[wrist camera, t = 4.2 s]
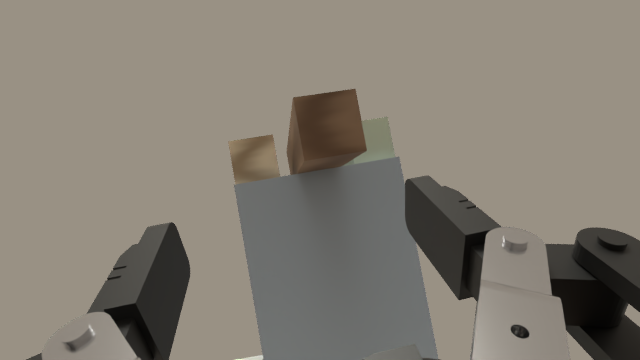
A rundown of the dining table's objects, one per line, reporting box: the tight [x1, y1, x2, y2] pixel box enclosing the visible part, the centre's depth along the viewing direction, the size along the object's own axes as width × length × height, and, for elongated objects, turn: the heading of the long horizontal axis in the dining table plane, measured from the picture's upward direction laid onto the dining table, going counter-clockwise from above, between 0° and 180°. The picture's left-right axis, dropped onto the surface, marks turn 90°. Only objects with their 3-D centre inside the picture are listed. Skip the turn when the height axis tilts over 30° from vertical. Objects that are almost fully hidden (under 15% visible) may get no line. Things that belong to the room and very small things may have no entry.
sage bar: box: [343, 117, 395, 166], centre depth 37 cm, size 4×11×4 cm, turn 7°
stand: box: [234, 157, 438, 360], centre depth 35 cm, size 15×13×32 cm
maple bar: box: [228, 135, 280, 184], centre depth 35 cm, size 4×11×4 cm, turn 7°
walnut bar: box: [287, 89, 367, 175], centre depth 32 cm, size 4×22×4 cm, turn 7°
